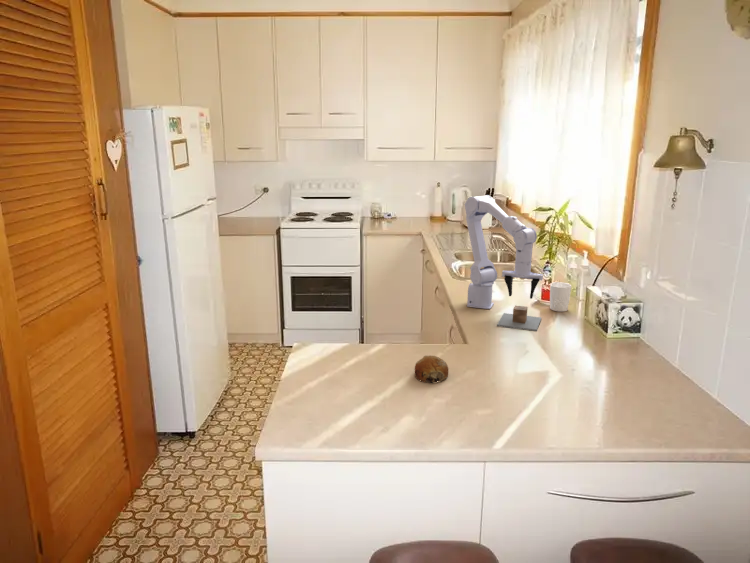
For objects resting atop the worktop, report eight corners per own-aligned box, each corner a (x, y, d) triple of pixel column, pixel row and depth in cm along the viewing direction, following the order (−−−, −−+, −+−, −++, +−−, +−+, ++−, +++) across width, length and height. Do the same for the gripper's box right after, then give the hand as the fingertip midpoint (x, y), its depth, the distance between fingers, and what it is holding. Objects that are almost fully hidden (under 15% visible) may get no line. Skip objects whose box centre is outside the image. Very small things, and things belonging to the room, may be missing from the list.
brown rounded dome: (450, 386, 167) (454, 359, 168) (440, 385, 157) (445, 357, 158) (418, 380, 171) (423, 354, 172) (407, 379, 161) (412, 351, 162)
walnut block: (512, 321, 208) (513, 308, 207) (514, 318, 212) (515, 305, 211) (525, 323, 206) (525, 310, 205) (526, 319, 210) (527, 306, 209)
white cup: (566, 306, 228) (568, 282, 225) (571, 312, 220) (573, 287, 217) (546, 305, 228) (548, 281, 226) (550, 311, 221) (552, 287, 218)
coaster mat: (496, 326, 205) (497, 324, 205) (503, 314, 218) (503, 313, 218) (536, 331, 200) (536, 329, 200) (541, 319, 213) (541, 317, 213)
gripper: (501, 261, 207) (499, 297, 210) (542, 265, 201) (539, 302, 205) (504, 257, 213) (502, 292, 217) (544, 261, 208) (541, 296, 211)
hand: (520, 296), depth 211 cm, fingers open, 7 cm apart
